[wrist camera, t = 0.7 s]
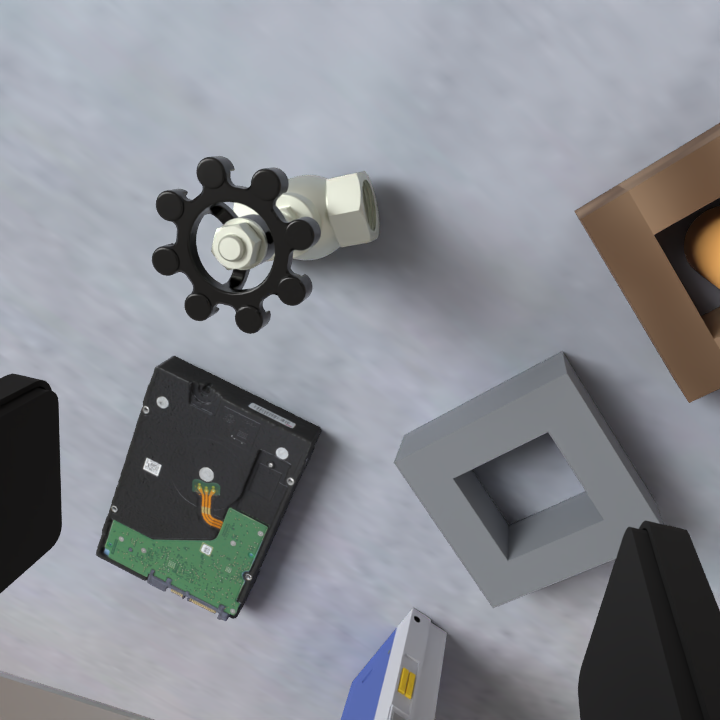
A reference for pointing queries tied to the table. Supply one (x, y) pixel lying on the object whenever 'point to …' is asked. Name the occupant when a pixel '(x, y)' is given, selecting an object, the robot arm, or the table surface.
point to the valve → (262, 234)
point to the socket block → (544, 529)
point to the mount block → (662, 256)
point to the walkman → (401, 675)
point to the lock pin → (705, 245)
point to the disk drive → (204, 487)
